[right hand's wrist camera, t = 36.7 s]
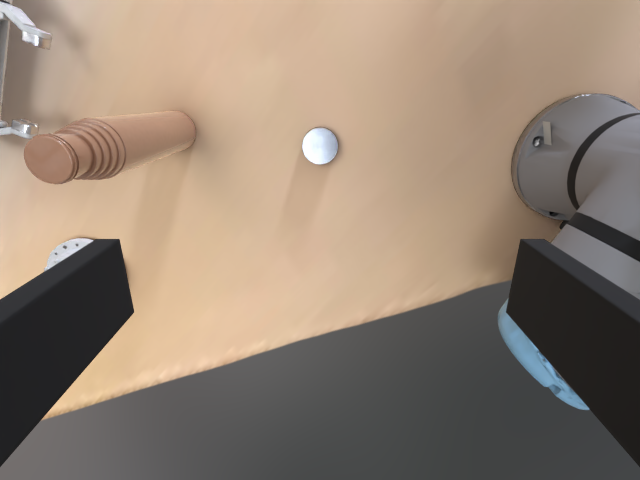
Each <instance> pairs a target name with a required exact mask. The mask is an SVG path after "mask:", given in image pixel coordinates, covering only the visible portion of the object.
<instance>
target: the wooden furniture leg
mask: <svg viewBox="0 0 640 480" xmlns="http://www.w3.org/2000/svg"><path fill="white" fill-rule="evenodd" d="M195 137H196V129H195V125H194V123H193V121H192V120H191V119H190V117H188V116H187V115H186V114H184V113H183V112H180V111H162V112H150V113H139V114H128V115H116V116H105V117H94V118H84V119H81V120H78V121H75V122H73V123H71V124H69V125H67V126H65V127H64V128H62V129H60V130H58V131H56V132H55V133H53V134H41V135H36V136H33V139H31V140H30V141H29V142H28V143H27V145H26V147H25V150H24V159H25V162H26V165H27V167H28V168H29V170H30V171H31V172H32V173H33V174H34V175H35V176H36V177H37V178H39V179H40V180H42V181H44V182H47V183H52V184H63V183H66V182H69V181H71V180H73V179H76V180H79V179H82V180H101V179H107V178H111V177H114V176H116V175H119V174H122V173H124V172H127V171H130V170H132V169H135V168H137V167H140V166H143V165H145V164H148V163H150V162H153V161H156V160H158V159H161V158H163V157H166V156H169V155H171V154H174V153H177V152H179V151H182V150H184V149H187V148H188V147H190V146H191V145H192V144H193V142H194V140H195Z"/></svg>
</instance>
